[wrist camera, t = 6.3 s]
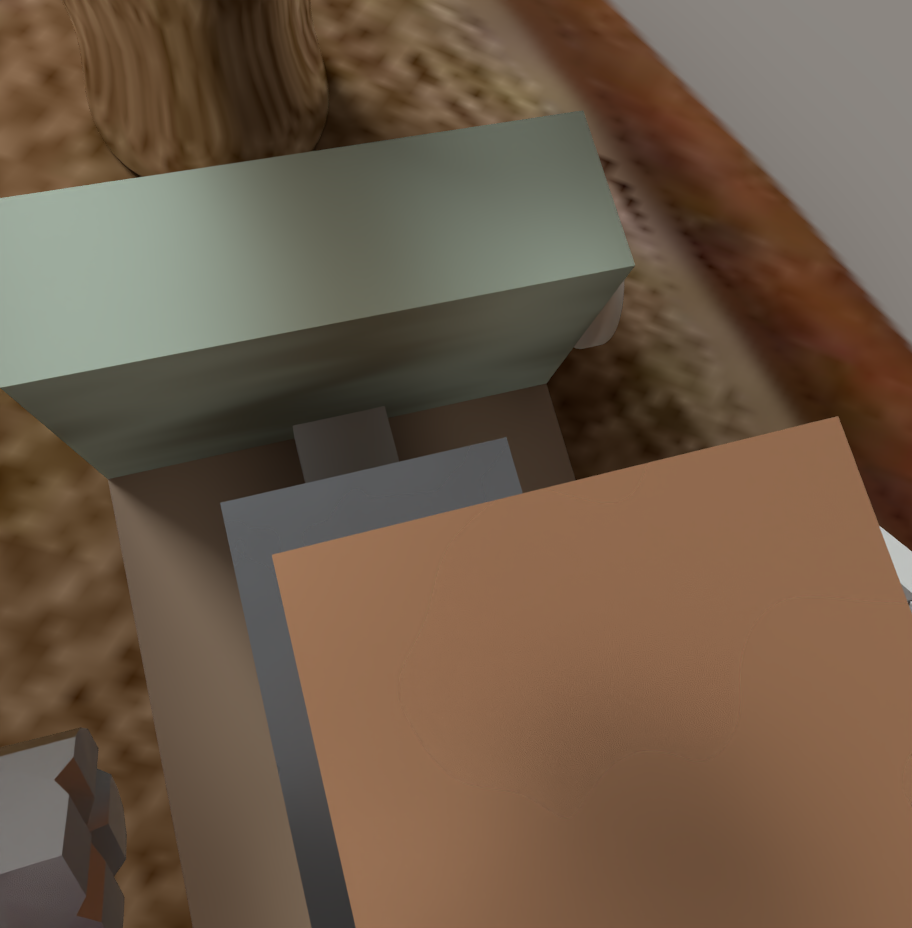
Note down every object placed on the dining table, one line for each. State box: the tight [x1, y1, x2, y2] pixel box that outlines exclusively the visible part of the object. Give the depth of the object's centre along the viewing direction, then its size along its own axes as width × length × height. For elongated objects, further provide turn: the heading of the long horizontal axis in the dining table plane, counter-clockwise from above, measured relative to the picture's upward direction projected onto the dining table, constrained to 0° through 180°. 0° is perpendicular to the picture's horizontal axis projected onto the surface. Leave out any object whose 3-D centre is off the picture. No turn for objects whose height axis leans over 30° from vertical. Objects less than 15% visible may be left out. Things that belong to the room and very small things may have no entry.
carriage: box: [220, 416, 912, 928], centre depth 10 cm, size 5×8×13 cm, turn 15°
